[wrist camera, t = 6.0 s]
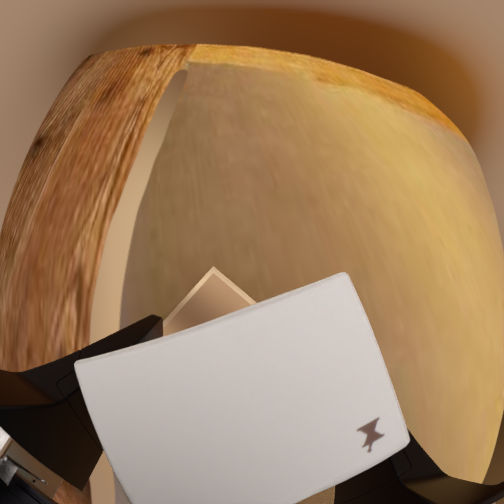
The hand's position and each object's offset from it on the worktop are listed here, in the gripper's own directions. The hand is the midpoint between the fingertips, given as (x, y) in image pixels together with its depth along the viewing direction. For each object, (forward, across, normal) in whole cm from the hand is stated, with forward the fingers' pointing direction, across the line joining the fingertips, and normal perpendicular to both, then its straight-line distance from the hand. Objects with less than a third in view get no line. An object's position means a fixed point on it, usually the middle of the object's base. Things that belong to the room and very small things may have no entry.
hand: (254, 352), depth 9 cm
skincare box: (+4, 0, +6) cm, 7 cm away
